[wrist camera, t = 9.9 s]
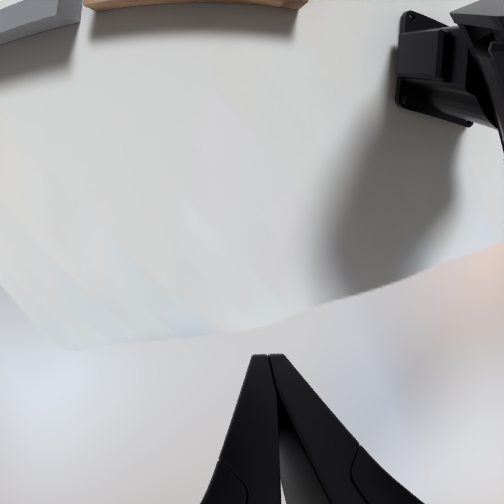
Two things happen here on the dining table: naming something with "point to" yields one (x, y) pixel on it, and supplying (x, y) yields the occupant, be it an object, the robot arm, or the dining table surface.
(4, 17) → the bay
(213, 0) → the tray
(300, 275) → the dining table surface
